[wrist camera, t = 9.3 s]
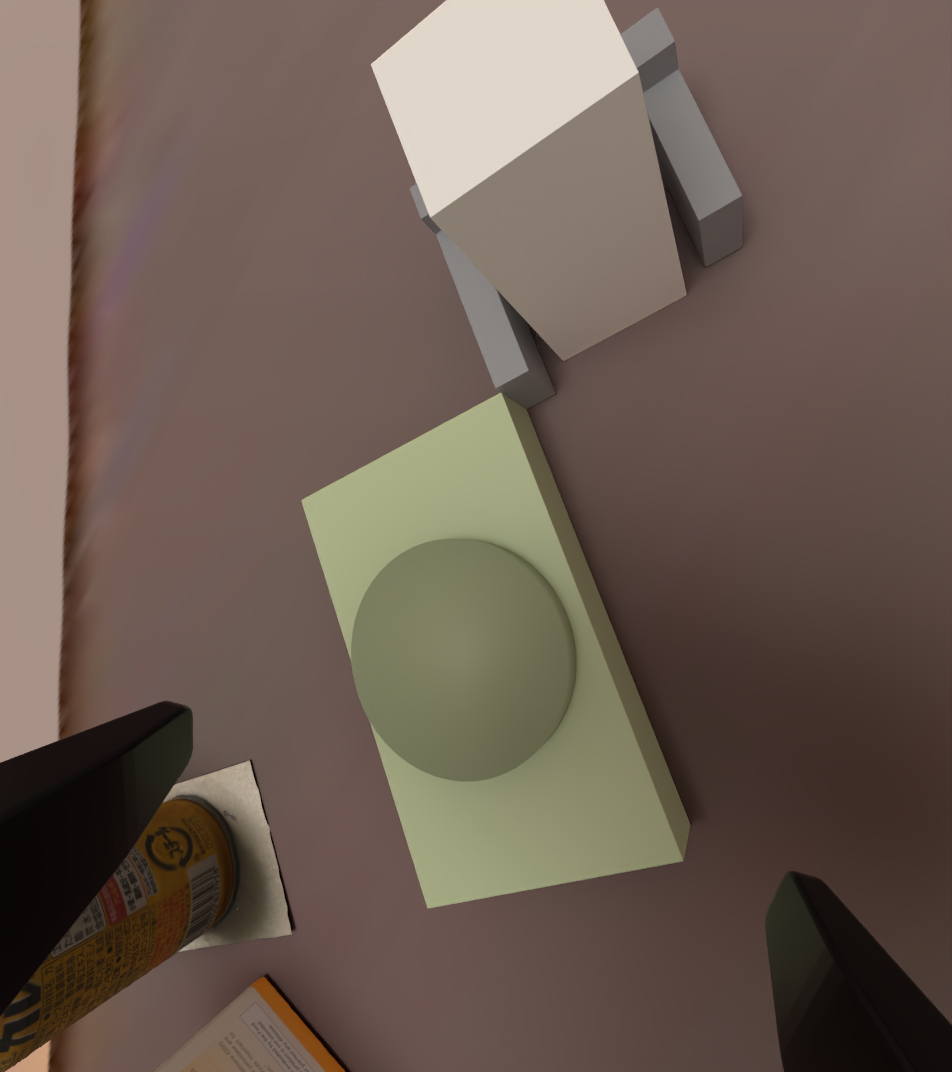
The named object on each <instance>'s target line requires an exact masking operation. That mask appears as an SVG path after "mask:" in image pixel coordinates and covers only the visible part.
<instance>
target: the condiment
mask: <svg viewBox="0 0 952 1072" xmlns="http://www.w3.org/2000/svg"><path fill="white" fill-rule="evenodd" d="M224 811H226V812H227V813H228V815H229V816H226V815H225V814H224ZM230 815H233V816H234V817H235V818H236V821H234V820H232V819H231V818H230ZM236 907H238V908H239V910H238V911H237V909H236ZM287 911H288V910H287V904H286V901H285V896H284V891H283V886H282V883H281V880H280V876H279V868H278V864H277V860H276V856H275V852H274V849H273V845H272V841H271V838H270V827H269V825H268V824H267V821H266V819H265V816H264V813H263V809H262V806H261V799H260V794H259V790H258V787H257V786H256V783H255V779H254V775H253V772H252V768H251V764H250V761H247V762H244V763H241V764H238V765H235V766H231V767H228V768H225V769H222V770H219V771H216V772H213V773H210V774H206V775H204V776H200V777H197V778H194V779H191V780H188V781H184V782H181V783H178V784H175V785H174V786H173V788H172V789H171V791H170V792H169V794H168V795H167V797H166V798H165V800H164V801H163V803H162V804H161V806H160V808H159V809H158V811H157V812H156V814H155V815H154V817H153V818H152V820H151V821H150V823H149V824H148V826H147V828H146V829H145V831H144V832H143V834H142V835H141V837H140V838H139V840H138V841H137V843H136V844H135V846H134V847H133V849H132V850H131V851H130V853H129V854H128V856H127V857H126V858H125V860H124V861H123V862H122V864H121V865H120V866H119V868H118V869H117V870H116V871H115V873H114V874H113V875H112V877H111V878H110V879H109V880H108V882H107V883H106V884H105V885H104V887H103V888H102V889H101V890H100V892H99V893H98V894H97V895H96V897H95V898H94V899H93V901H92V902H91V903H90V904H89V906H88V907H87V908H86V909H85V911H84V912H83V913H82V914H81V916H80V917H79V918H78V919H77V921H76V922H75V923H74V925H73V926H72V927H71V928H70V930H69V931H68V932H67V933H66V935H65V936H64V937H63V938H62V940H61V941H60V942H59V944H58V945H57V946H56V947H55V949H54V950H53V951H52V952H51V954H50V955H49V956H48V957H47V959H46V960H45V961H44V962H43V964H42V965H41V966H40V968H39V969H38V970H37V971H36V973H35V974H34V975H33V976H32V978H31V979H30V980H29V981H28V983H27V984H26V985H25V986H24V988H23V989H22V990H21V992H20V993H19V994H18V995H17V997H16V998H15V999H14V1000H13V1002H12V1003H11V1004H10V1005H9V1007H8V1008H7V1009H6V1010H5V1012H4V1013H3V1014H2V1016H1V1017H0V1072H5V1071H6V1070H8V1069H9V1068H11V1067H12V1066H14V1065H16V1064H17V1063H18V1062H20V1061H21V1060H22V1059H24V1058H26V1057H27V1056H29V1055H30V1054H31V1053H32V1052H34V1051H35V1050H36V1049H38V1048H39V1047H41V1046H42V1045H44V1044H45V1043H46V1042H48V1041H49V1040H51V1039H53V1038H54V1037H56V1036H57V1035H58V1034H59V1033H61V1032H62V1031H64V1030H65V1029H67V1028H68V1027H69V1026H71V1025H72V1024H74V1023H75V1022H76V1021H78V1020H79V1019H81V1018H82V1017H84V1016H85V1015H87V1014H88V1013H89V1012H91V1011H93V1010H94V1009H95V1008H97V1007H98V1006H100V1005H101V1004H102V1003H104V1002H105V1001H107V1000H108V999H110V998H111V997H113V996H114V995H116V994H117V993H118V992H120V991H121V990H123V989H124V988H126V987H128V986H129V985H131V984H132V983H133V982H135V981H136V980H138V979H139V978H141V977H142V976H144V975H145V974H147V973H148V972H149V971H151V970H152V969H153V968H155V967H157V966H158V965H160V964H161V963H162V962H164V961H165V960H167V959H169V958H170V957H171V956H173V955H175V954H176V953H178V952H180V951H185V950H193V949H197V948H202V947H208V946H210V947H211V946H214V945H225V944H236V943H239V942H243V941H251V940H255V939H261V938H274V937H279V936H284V935H290V934H291V927H290V923H289V919H288V915H287Z"/></svg>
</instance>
